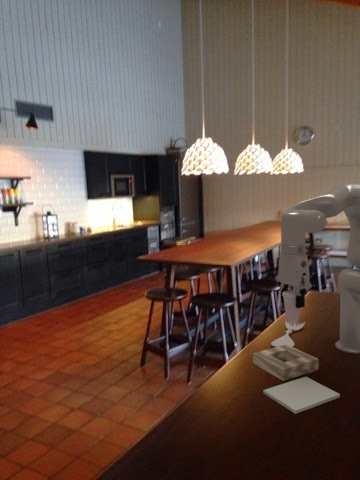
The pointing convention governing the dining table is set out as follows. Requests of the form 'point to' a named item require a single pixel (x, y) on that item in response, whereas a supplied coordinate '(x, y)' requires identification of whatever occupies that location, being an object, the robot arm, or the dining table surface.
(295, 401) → the serving board
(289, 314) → the smoothie
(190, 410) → the dining table surface
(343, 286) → the robot arm
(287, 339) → the white long flared piece
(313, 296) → the dining table surface
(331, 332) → the dining table surface
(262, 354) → the wooden square frame
